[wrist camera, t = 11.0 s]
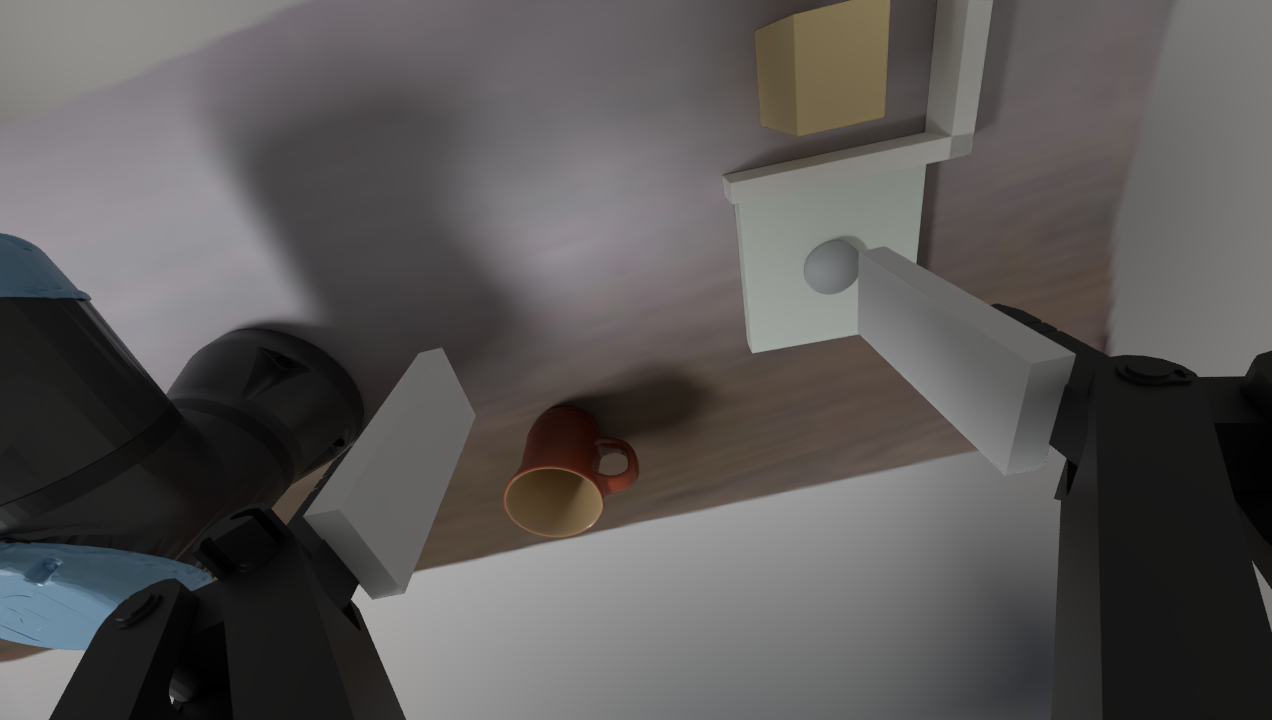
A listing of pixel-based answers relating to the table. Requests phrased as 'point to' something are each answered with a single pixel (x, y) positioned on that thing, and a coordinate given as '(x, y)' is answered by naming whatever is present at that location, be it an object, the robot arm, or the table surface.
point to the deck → (850, 200)
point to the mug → (565, 475)
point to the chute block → (824, 67)
